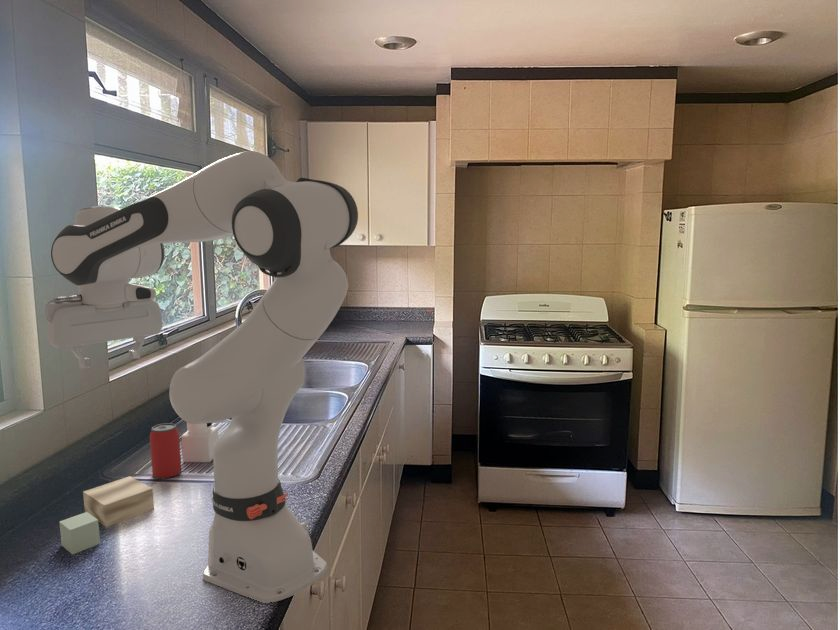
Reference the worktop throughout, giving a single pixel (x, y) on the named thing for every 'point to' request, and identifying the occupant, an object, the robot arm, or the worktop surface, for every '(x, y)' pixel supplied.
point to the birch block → (118, 500)
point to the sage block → (79, 532)
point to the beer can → (165, 450)
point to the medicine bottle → (199, 442)
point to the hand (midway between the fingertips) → (110, 363)
